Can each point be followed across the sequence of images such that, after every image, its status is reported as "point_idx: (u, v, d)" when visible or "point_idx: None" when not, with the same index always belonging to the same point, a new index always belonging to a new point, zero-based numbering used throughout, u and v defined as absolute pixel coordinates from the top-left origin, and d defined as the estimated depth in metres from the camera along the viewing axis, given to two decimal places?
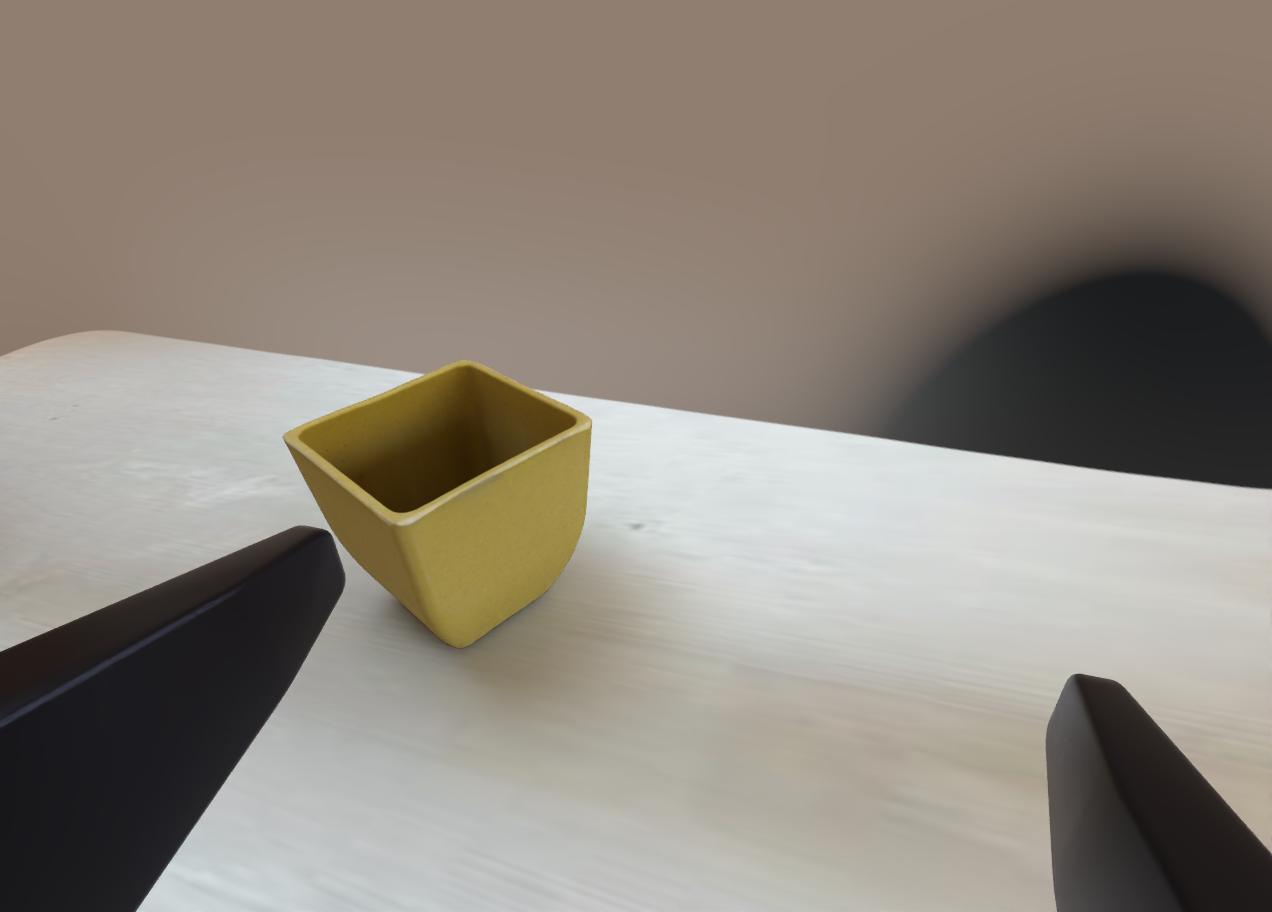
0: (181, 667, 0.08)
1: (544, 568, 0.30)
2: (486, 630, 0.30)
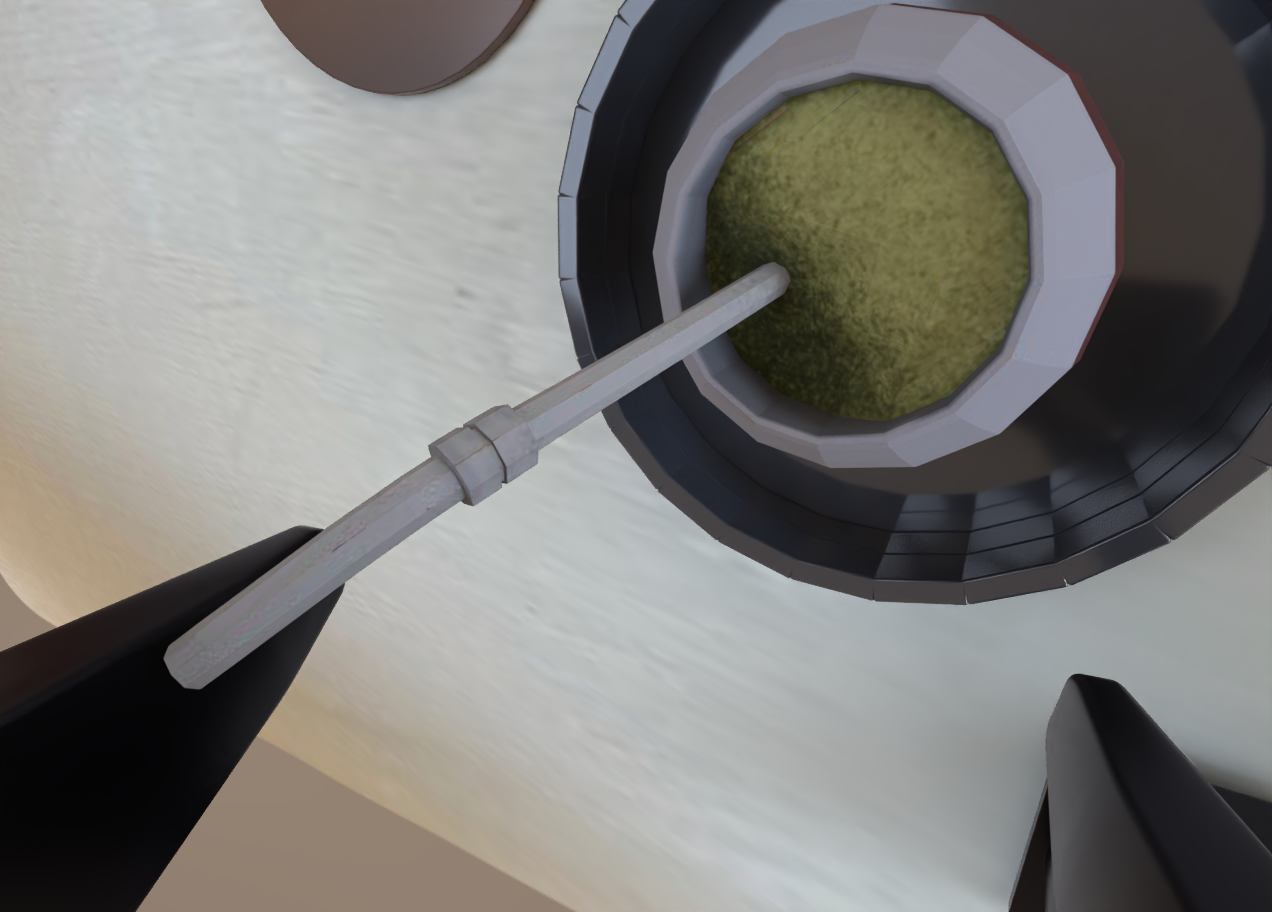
0: None
1: None
2: None
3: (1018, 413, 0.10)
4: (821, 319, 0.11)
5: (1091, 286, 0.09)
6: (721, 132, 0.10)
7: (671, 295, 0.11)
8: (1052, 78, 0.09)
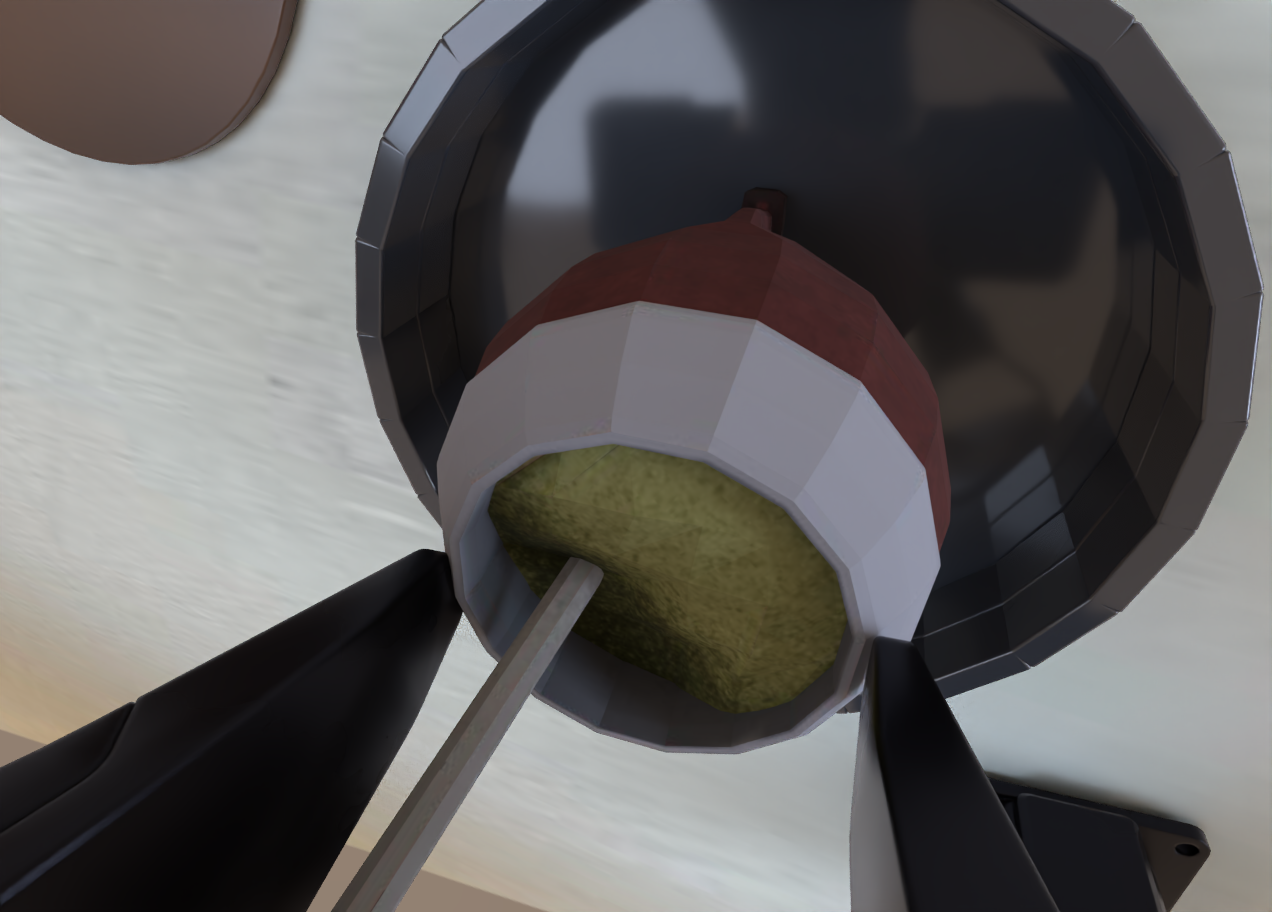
0: (326, 706, 0.07)
1: None
2: None
3: None
4: (645, 612, 0.10)
5: (917, 601, 0.08)
6: (478, 487, 0.08)
7: (472, 625, 0.10)
8: (843, 406, 0.07)
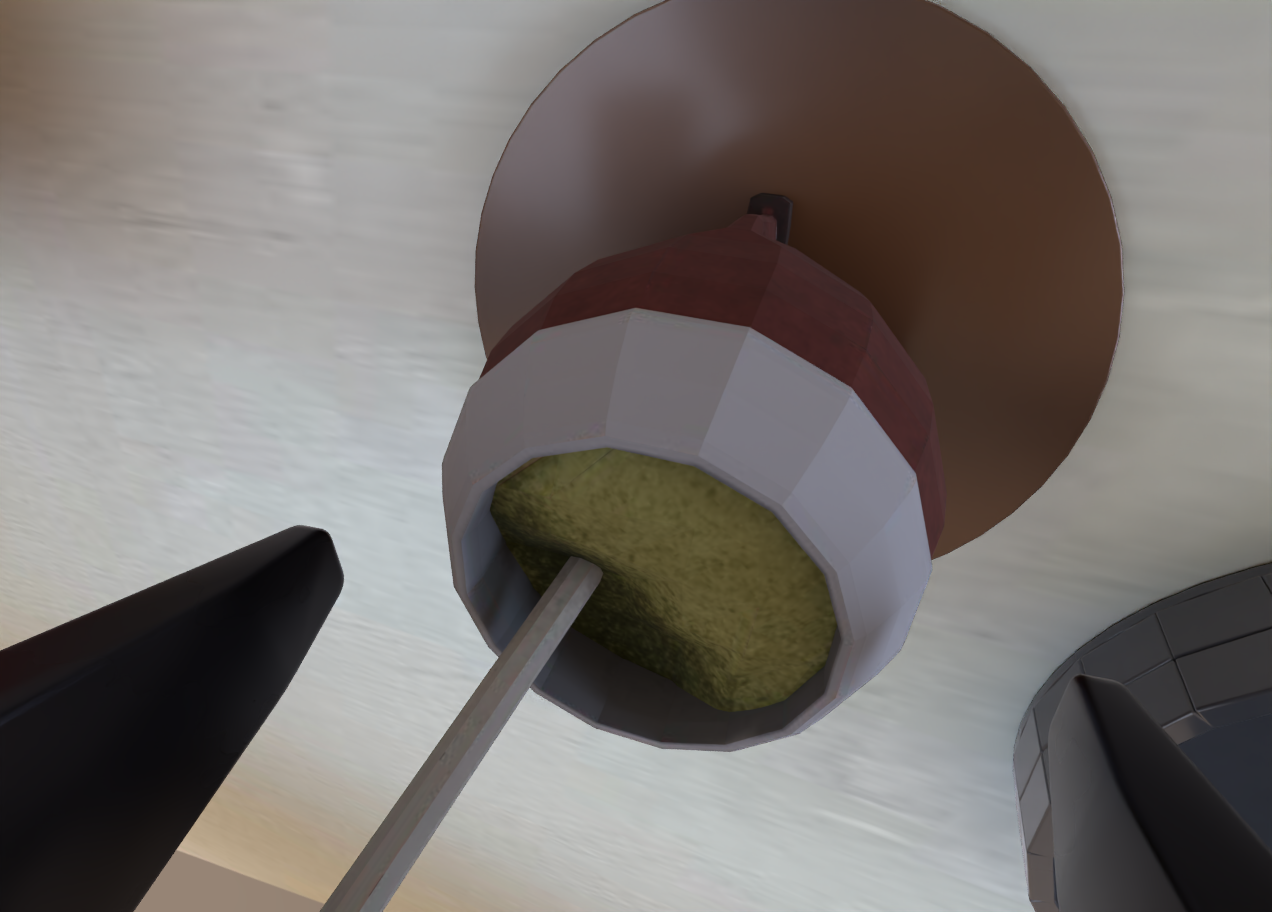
0: (180, 667, 0.08)
1: None
2: None
3: None
4: (643, 611, 0.10)
5: (908, 604, 0.08)
6: (479, 488, 0.08)
7: (474, 621, 0.10)
8: (833, 413, 0.08)
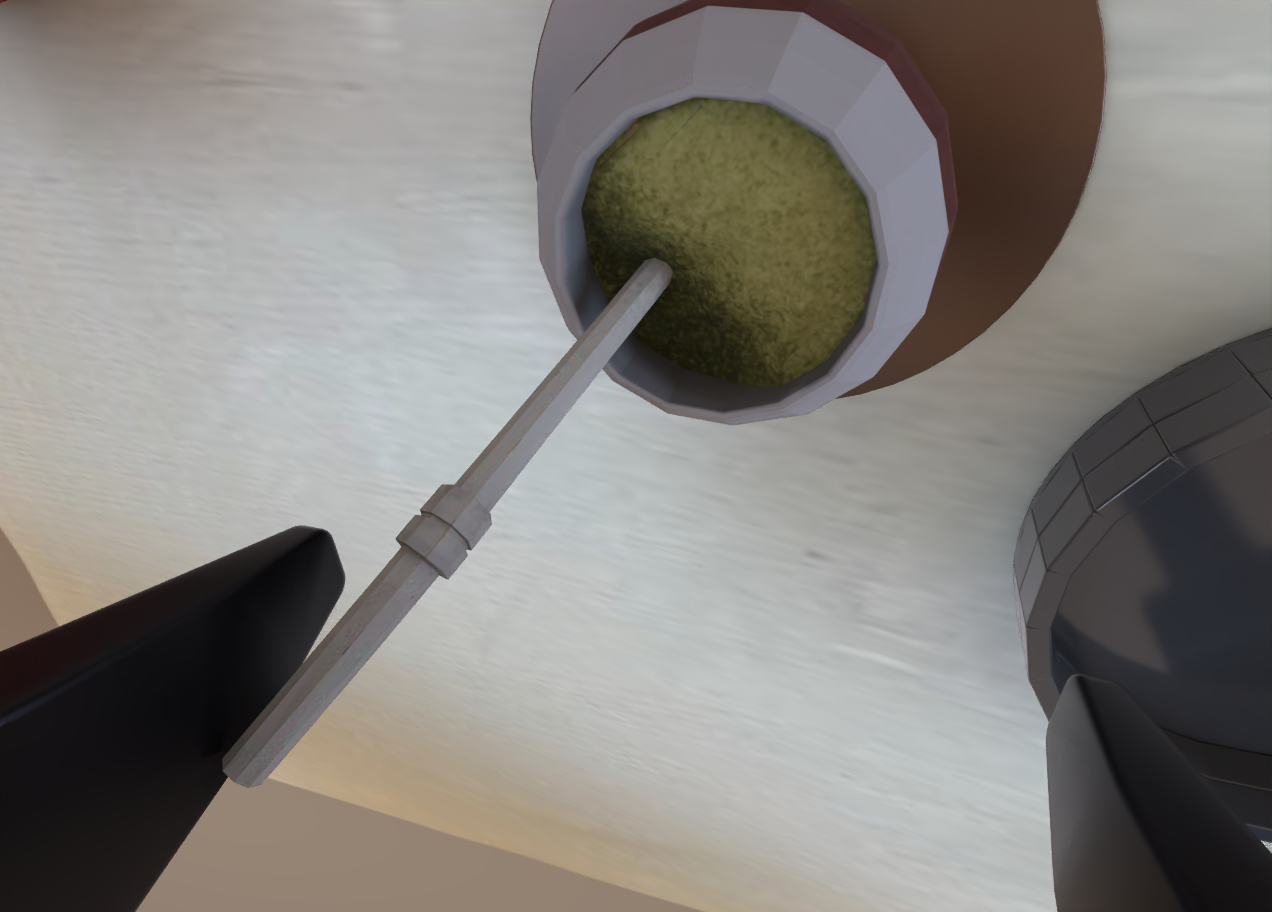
0: (181, 667, 0.08)
1: None
2: None
3: (886, 358, 0.12)
4: (706, 304, 0.12)
5: (930, 252, 0.10)
6: (582, 159, 0.10)
7: (567, 309, 0.12)
8: (871, 72, 0.10)
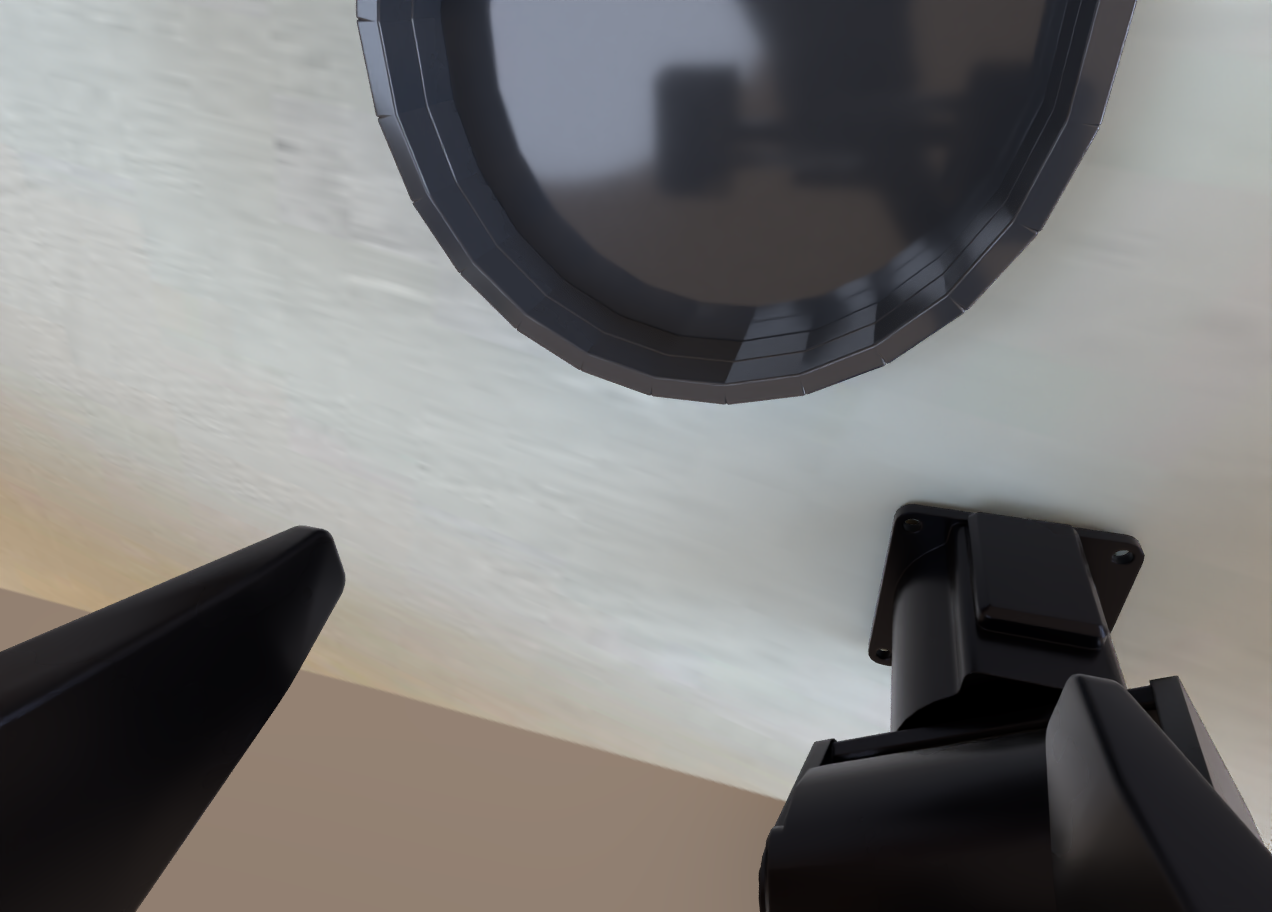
0: (181, 667, 0.08)
1: None
2: None
3: None
4: None
5: None
6: None
7: None
8: None
